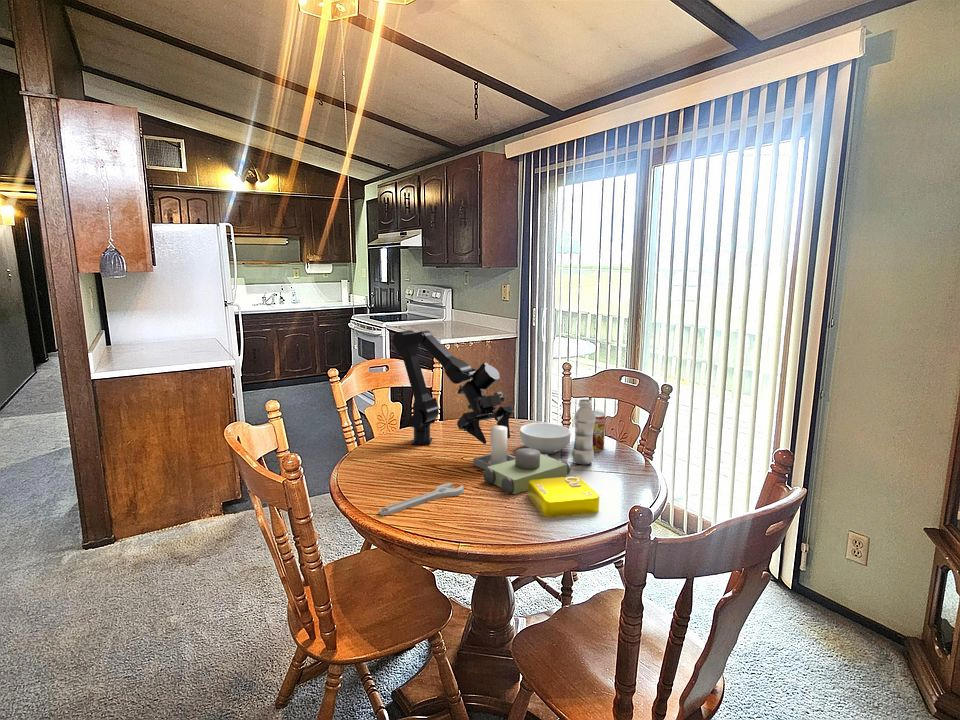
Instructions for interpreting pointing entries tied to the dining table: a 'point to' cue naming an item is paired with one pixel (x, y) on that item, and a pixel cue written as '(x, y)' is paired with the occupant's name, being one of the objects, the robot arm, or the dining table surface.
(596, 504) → the element tile
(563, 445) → the cereal bowl
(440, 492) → the adjustable wrench
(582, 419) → the plastic bottle
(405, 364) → the robot arm
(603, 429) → the canned food
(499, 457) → the white cylindrical piece
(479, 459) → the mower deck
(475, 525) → the dining table surface
